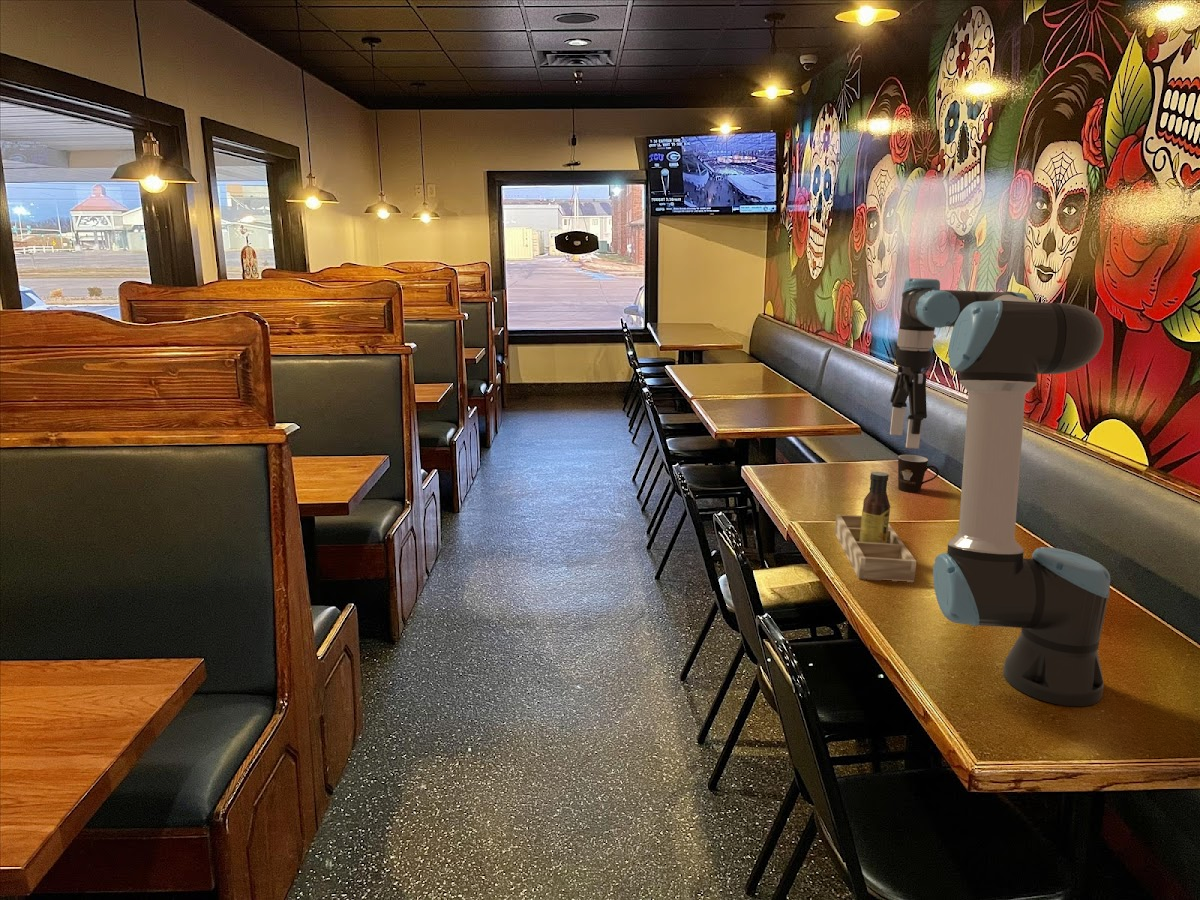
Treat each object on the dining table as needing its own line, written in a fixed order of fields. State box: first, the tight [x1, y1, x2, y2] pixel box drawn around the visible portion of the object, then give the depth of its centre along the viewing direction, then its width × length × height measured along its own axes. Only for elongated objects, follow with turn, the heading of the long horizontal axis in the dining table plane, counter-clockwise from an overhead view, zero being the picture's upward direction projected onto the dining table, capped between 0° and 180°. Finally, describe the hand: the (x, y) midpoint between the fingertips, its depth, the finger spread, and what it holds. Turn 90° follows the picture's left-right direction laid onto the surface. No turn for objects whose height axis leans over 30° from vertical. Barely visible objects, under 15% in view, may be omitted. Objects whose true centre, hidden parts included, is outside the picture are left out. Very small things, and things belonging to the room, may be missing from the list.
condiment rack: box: [834, 514, 917, 583], centre depth 201 cm, size 31×12×5 cm, turn 175°
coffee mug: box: [897, 454, 940, 494], centre depth 256 cm, size 12×9×10 cm
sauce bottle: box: [859, 471, 891, 543], centre depth 200 cm, size 7×6×20 cm
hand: (903, 441), depth 193 cm, fingers open, 13 cm apart
